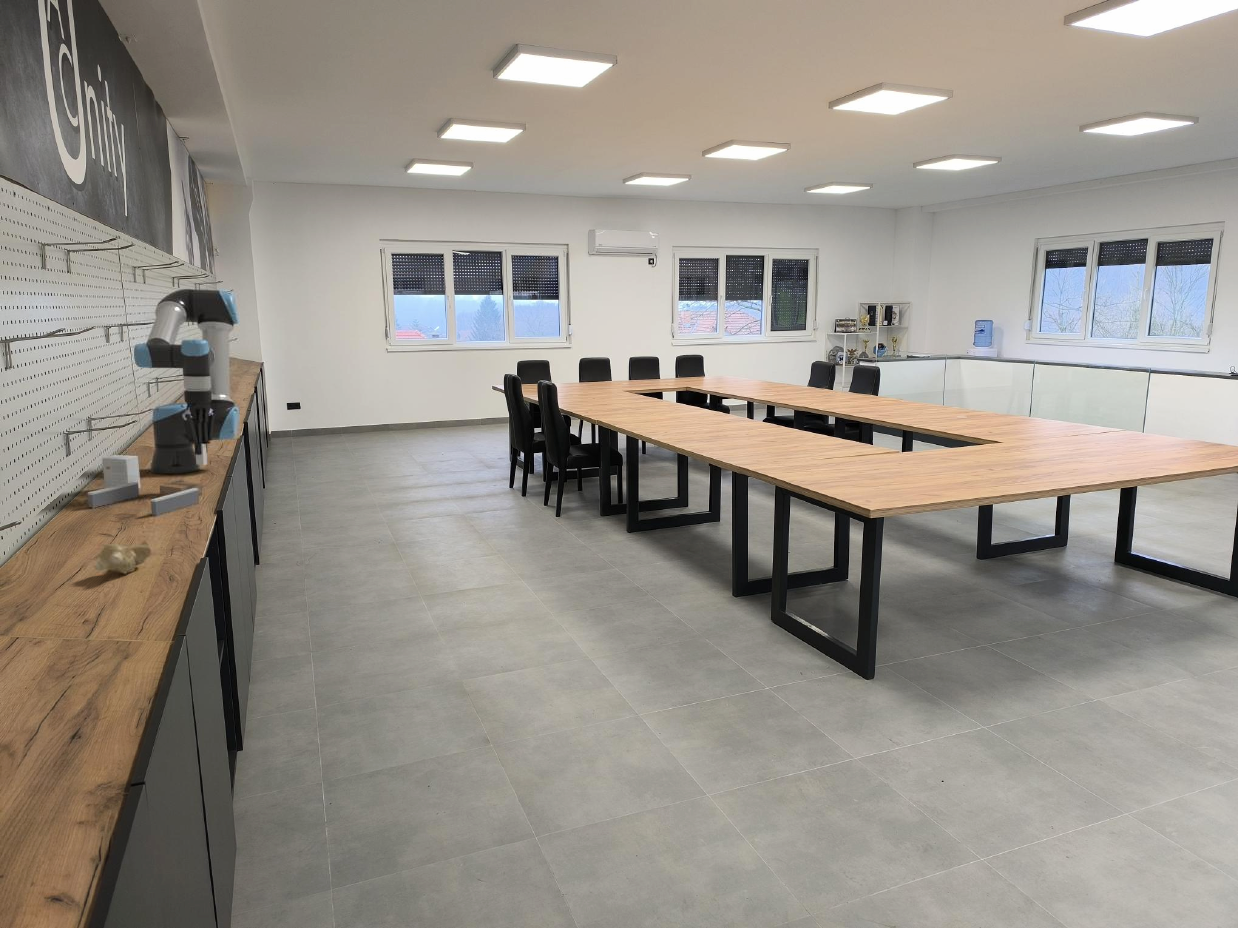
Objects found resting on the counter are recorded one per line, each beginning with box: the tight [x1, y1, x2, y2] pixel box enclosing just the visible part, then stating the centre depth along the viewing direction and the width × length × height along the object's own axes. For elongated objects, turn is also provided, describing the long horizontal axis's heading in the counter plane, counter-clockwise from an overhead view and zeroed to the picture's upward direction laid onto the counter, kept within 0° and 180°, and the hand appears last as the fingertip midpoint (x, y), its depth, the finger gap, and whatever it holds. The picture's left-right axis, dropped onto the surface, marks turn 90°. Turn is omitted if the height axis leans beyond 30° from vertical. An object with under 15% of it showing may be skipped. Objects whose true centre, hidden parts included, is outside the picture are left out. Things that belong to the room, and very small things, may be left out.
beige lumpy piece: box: [93, 540, 152, 575], centre depth 177 cm, size 8×7×12 cm
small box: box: [101, 454, 141, 490], centre depth 250 cm, size 8×6×10 cm
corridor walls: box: [87, 482, 200, 517], centre depth 233 cm, size 16×23×4 cm
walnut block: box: [159, 480, 203, 497], centre depth 246 cm, size 8×8×4 cm
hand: (201, 464), depth 253 cm, fingers closed
